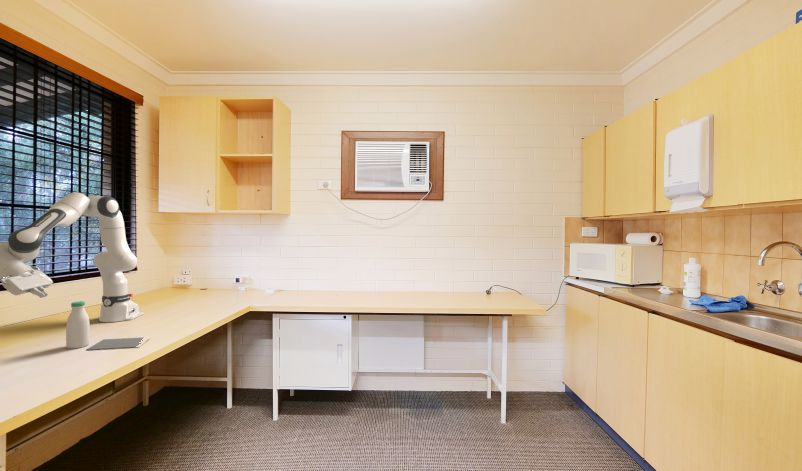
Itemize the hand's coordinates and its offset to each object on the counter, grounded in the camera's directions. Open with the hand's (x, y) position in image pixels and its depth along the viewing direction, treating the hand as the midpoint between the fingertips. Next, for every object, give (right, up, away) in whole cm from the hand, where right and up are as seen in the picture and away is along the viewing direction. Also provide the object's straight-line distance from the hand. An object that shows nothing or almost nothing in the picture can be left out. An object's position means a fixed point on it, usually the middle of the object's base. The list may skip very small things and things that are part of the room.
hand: (45, 296), depth 156 cm
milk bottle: (+11, -23, +4) cm, 26 cm away
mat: (+27, -24, +8) cm, 37 cm away
